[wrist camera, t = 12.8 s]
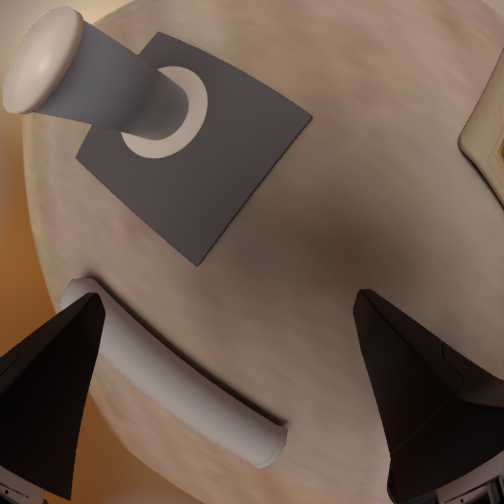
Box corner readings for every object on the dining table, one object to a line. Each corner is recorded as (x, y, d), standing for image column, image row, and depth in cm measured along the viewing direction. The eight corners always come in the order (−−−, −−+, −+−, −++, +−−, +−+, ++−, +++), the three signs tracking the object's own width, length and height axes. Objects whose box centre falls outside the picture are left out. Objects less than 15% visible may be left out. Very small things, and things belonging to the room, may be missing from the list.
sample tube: (204, 98, 18) (93, 12, 6) (163, 155, 20) (22, 131, 7) (158, 71, 18) (47, 2, 6) (121, 124, 20) (-7, 93, 7)
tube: (50, 315, 22) (245, 471, 22) (48, 284, 19) (276, 467, 19) (85, 288, 27) (264, 432, 26) (89, 257, 24) (294, 421, 23)
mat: (312, 118, 18) (312, 115, 17) (199, 264, 22) (196, 267, 21) (161, 34, 18) (157, 30, 18) (79, 158, 22) (74, 157, 21)
